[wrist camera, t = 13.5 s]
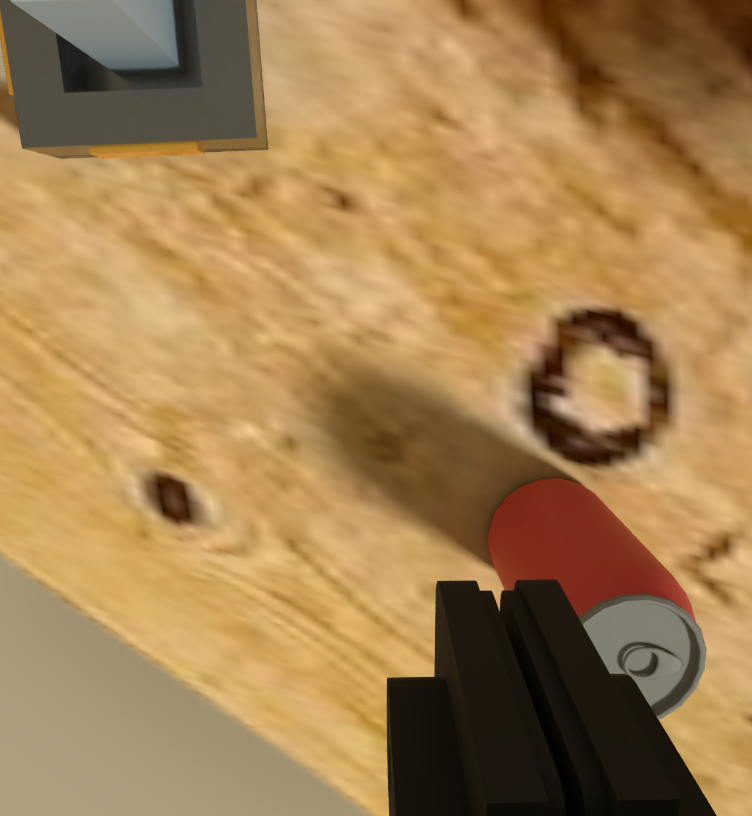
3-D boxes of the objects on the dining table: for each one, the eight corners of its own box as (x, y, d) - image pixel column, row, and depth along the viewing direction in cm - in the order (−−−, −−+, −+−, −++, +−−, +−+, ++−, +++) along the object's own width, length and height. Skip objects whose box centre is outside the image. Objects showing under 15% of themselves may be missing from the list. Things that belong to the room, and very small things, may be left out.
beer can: (594, 592, 39) (699, 746, 27) (476, 582, 38) (532, 734, 27) (617, 480, 37) (739, 592, 25) (495, 468, 37) (563, 576, 25)
